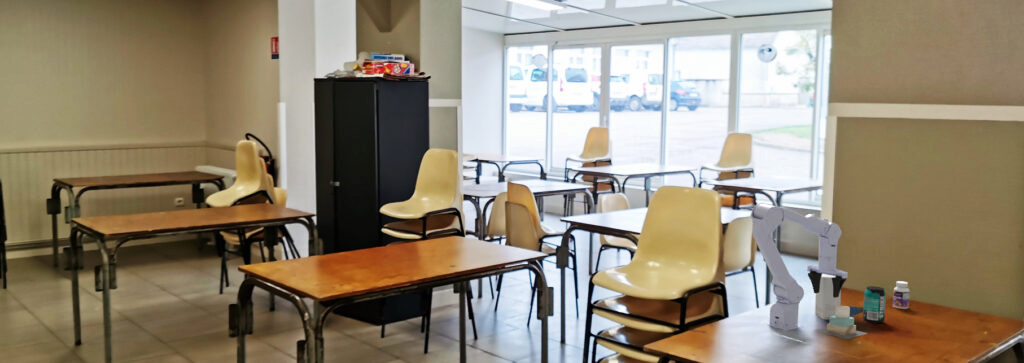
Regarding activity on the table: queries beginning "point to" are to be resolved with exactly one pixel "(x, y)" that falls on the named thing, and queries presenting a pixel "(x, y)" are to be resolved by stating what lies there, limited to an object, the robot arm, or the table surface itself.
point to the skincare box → (826, 298)
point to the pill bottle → (901, 295)
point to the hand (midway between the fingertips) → (826, 295)
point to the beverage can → (874, 304)
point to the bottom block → (841, 329)
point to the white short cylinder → (842, 312)
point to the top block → (841, 321)
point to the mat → (858, 333)
